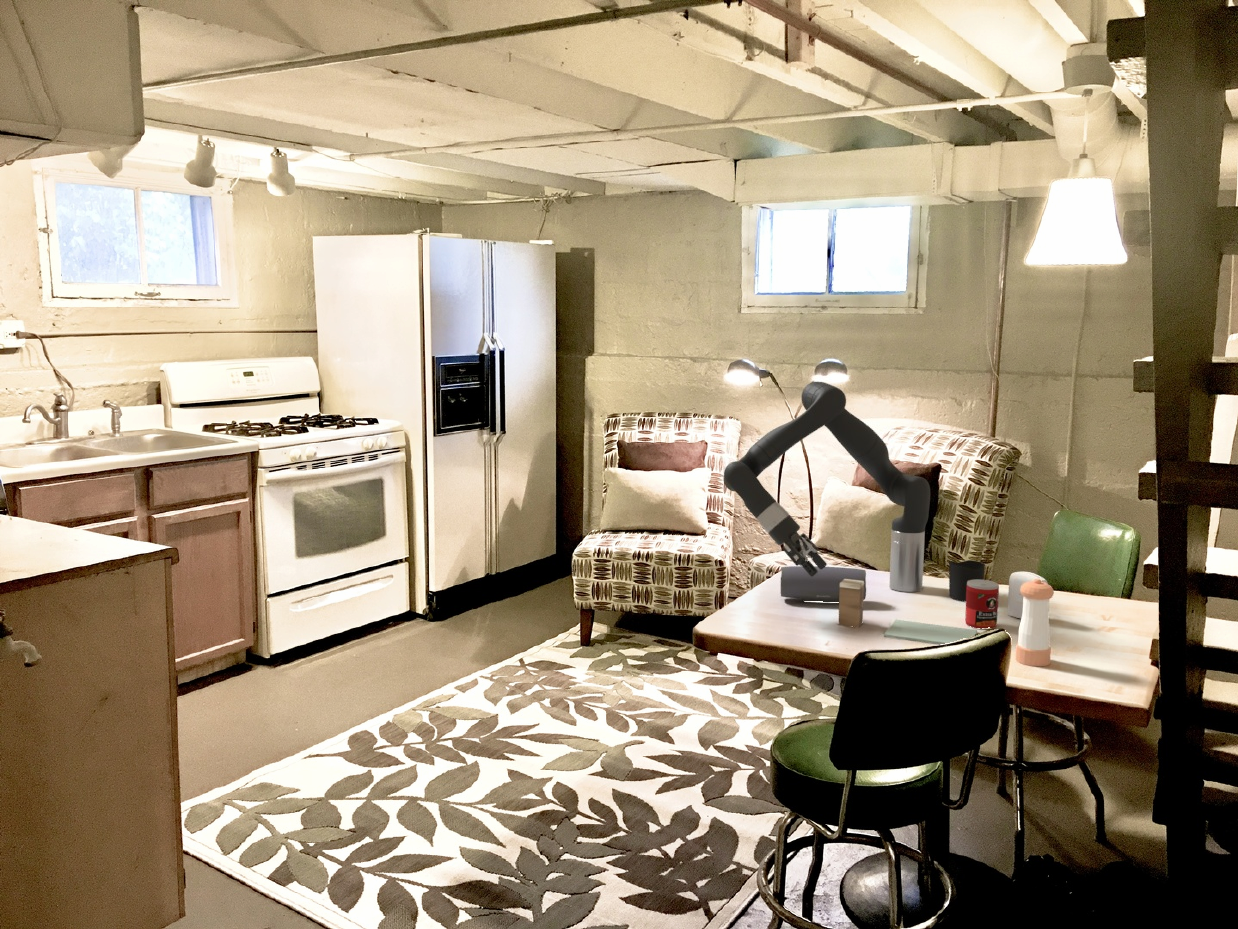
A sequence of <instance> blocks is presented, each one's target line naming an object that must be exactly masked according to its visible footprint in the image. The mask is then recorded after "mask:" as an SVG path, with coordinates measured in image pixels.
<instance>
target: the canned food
mask: <svg viewBox="0 0 1238 929" xmlns="http://www.w3.org/2000/svg"><path fill="white" fill-rule="evenodd" d="M999 586H1000V584H999V583H997V582H996V581H992V580H988V579H984V580H980V579H975V580H969V581H968V582H967V590H966V602H965V613H964V614H965V616H964V618H965V619H964V621H965V624H966V625H967V626H968V627H970V626H971V627H970V628H973V627H974V628H973V629H977V628H980V629H979V630H983V629H982V628H988V627H990V628H993V629H995V628H996V627H997V625H998V624H997V623H998V613H999V610H998V609H999V594H1000V593H999V592H1000V587H999Z"/></svg>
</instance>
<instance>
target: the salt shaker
mask: <svg viewBox="0 0 1238 929" xmlns="http://www.w3.org/2000/svg"><path fill="white" fill-rule="evenodd" d="M1054 591H1055V590H1054V588H1053V587H1052V586H1051V585H1050V584H1049V583H1048V584H1046V583H1044V582H1041V580H1040V579H1034V581H1030V582H1026V583H1024V584H1023V585H1022V586H1021V589H1020V592H1021V594H1022V595H1023V596H1024V598H1023V613H1022V618H1021V619H1020V623H1019V628H1018V641H1017V643H1016V647H1015V660H1016V662H1018V663H1019V662H1020V664H1022V665H1025V666H1029V667H1030V666H1031V667H1047V666H1050V665H1051V653H1052V652H1051V646H1050V639H1051V627H1050V626H1051V625H1050V618H1049V615H1050V614H1049V613H1050V599H1052V598H1053V596H1054V593H1055V592H1054Z"/></svg>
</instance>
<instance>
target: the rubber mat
mask: <svg viewBox="0 0 1238 929" xmlns="http://www.w3.org/2000/svg"><path fill="white" fill-rule="evenodd" d="M977 633H978V629H974V628H973V629H972V628H965V627H956V626H949V625H941V624H935V623H934V624H933V623H928V622H927V623H926V622H917V621H912V620H911V621H910V620H904V619H895V620H894V621H893V623H892V624H891V625H890V626H889V628H888V629H887V630H886V631H885V633H884V634H883V635H884V638H891V639H899V640H905V641H911V642H912V641H913V642H920V643H928V644H935V645H941V644H945V643H950V642H954V641H957V640H960V639H963V638H969V637H971V636H974V635H975V634H976V635H977Z"/></svg>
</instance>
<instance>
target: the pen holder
mask: <svg viewBox="0 0 1238 929" xmlns="http://www.w3.org/2000/svg"><path fill="white" fill-rule="evenodd" d="M948 565H949V566H948V567H949V568H948V569H949V570H948V571H949V572H948V575H949V579H948V581H949V582H948V584H949V586H948V588H949V590H948V594H949V598H950V599H952V600H955V601H957V602H964V601H966V590H967V582H968V581H969V580H975V579H980V580H985V571H986V570H985V568H986V564H985V562H982V561H979V560H972V559H968V560H964V561H963V560H962V561H960V562H959V561H958V562H955V561H953V560H950V561H949V564H948Z"/></svg>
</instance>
